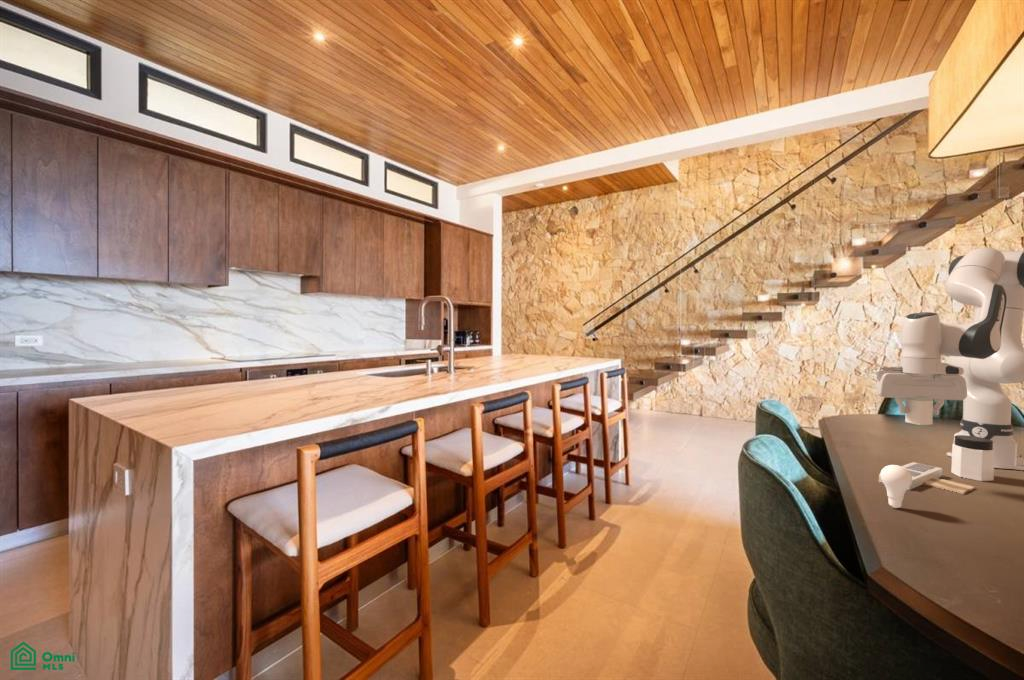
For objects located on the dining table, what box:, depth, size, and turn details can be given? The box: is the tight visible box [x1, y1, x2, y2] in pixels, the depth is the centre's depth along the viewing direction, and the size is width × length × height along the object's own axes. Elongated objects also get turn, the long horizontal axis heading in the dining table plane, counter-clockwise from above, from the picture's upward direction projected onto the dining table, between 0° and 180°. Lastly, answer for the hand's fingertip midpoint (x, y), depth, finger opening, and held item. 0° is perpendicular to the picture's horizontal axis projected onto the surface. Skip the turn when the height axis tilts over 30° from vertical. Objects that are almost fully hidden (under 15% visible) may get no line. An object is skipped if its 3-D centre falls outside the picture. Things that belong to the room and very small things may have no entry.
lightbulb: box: [879, 464, 912, 509], centre depth 109 cm, size 6×6×11 cm
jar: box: [950, 435, 995, 482], centre depth 133 cm, size 9×8×12 cm
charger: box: [904, 397, 934, 426], centre depth 128 cm, size 4×4×8 cm
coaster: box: [922, 477, 976, 495], centre depth 125 cm, size 9×9×1 cm
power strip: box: [878, 461, 943, 491], centre depth 132 cm, size 29×7×3 cm, turn 119°
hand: (919, 413), depth 128 cm, fingers closed on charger, 6 cm apart
